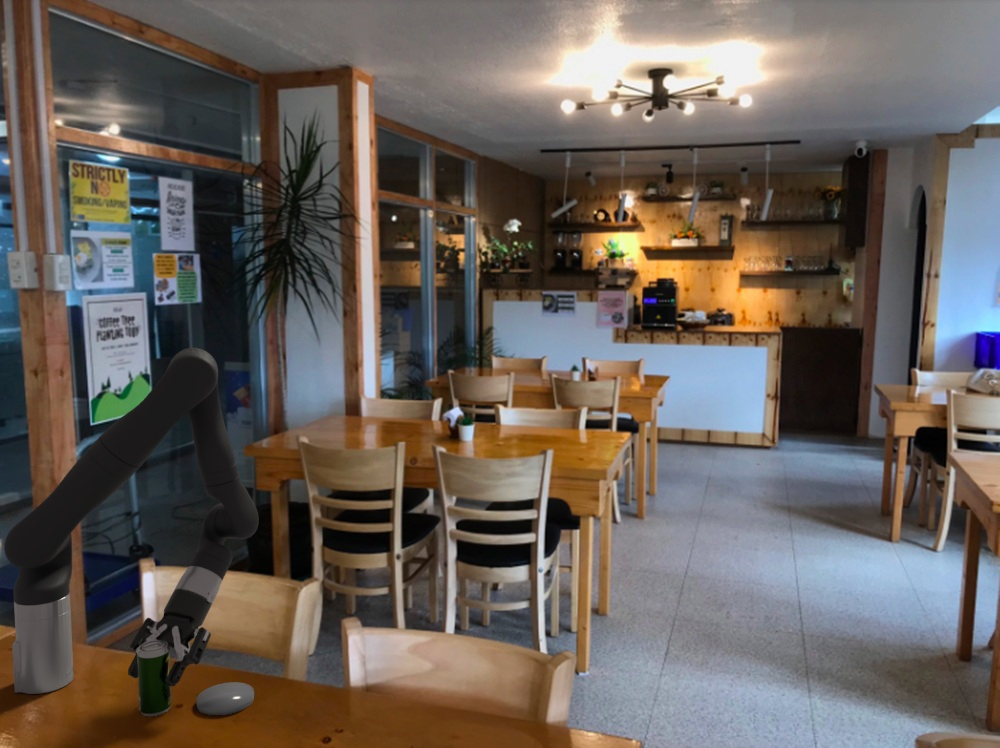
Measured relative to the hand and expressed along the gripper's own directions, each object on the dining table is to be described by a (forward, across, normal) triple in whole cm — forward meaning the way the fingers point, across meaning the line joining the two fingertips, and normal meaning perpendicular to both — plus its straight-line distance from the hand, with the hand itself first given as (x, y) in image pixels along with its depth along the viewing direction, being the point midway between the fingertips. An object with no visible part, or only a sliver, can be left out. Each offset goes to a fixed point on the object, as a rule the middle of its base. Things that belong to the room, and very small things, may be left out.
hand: (150, 680), depth 140 cm
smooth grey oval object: (-1, +10, +10) cm, 14 cm away
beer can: (+4, 0, +5) cm, 6 cm away
